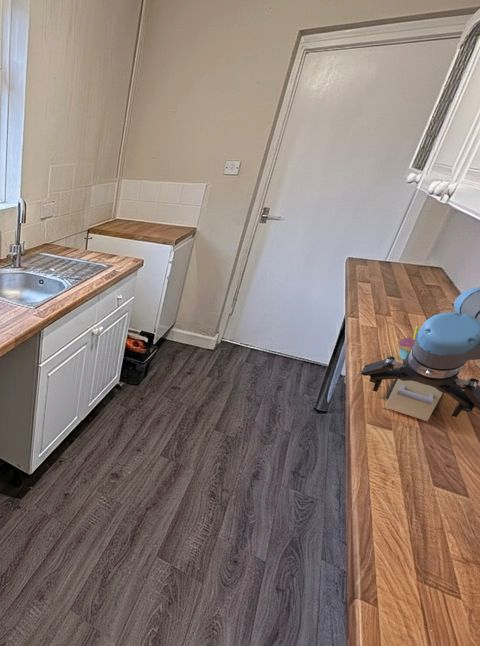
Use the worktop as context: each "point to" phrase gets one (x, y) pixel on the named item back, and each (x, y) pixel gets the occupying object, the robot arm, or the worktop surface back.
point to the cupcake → (407, 344)
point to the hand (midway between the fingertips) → (414, 398)
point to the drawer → (414, 399)
